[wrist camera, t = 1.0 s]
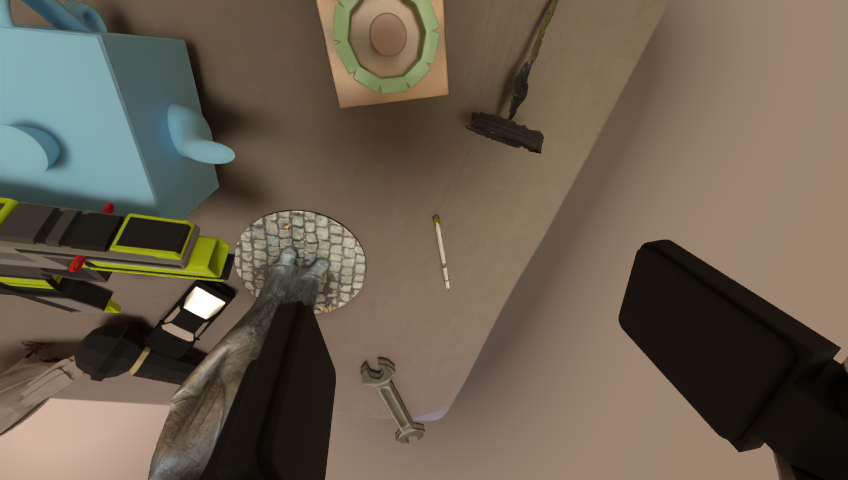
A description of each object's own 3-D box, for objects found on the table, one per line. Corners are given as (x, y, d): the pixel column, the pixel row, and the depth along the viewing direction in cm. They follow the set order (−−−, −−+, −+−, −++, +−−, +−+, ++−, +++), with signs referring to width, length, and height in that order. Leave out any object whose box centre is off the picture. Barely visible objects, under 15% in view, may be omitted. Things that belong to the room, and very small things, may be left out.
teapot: (-43, -24, 20) (-419, -92, 11) (263, 10, 23) (186, -17, 14) (70, 207, 28) (-87, 289, 18) (289, 211, 31) (252, 284, 21)
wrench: (353, 365, 43) (398, 438, 53) (354, 376, 41) (400, 449, 52) (388, 351, 43) (425, 426, 54) (390, 361, 42) (428, 436, 52)
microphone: (265, 381, 45) (91, 330, 35) (288, 365, 43) (108, 304, 33) (254, 423, 41) (51, 380, 31) (278, 408, 39) (68, 354, 28)
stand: (311, -31, 23) (296, -50, 18) (437, -43, 23) (452, -65, 19) (341, 106, 27) (335, 117, 23) (446, 93, 28) (459, 101, 24)
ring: (323, -19, 22) (319, -25, 20) (430, -30, 23) (435, -37, 21) (347, 95, 26) (345, 98, 24) (438, 84, 26) (443, 86, 25)
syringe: (449, 295, 38) (443, 292, 38) (454, 290, 38) (447, 287, 39) (436, 218, 33) (429, 216, 33) (442, 214, 33) (435, 212, 34)
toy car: (181, 357, 36) (170, 373, 33) (143, 339, 34) (128, 355, 32) (239, 290, 35) (233, 302, 33) (203, 269, 34) (193, 280, 31)
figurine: (392, 255, 35) (337, 605, 15) (328, 311, 41) (232, 608, 22) (279, 181, 30) (-21, 572, 10) (225, 258, 36) (-22, 589, 17)
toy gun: (258, 298, 31) (231, 211, 19) (247, 342, 29) (209, 277, 17) (-10, 276, 26) (-289, 135, 14) (-48, 328, 24) (-417, 217, 12)
